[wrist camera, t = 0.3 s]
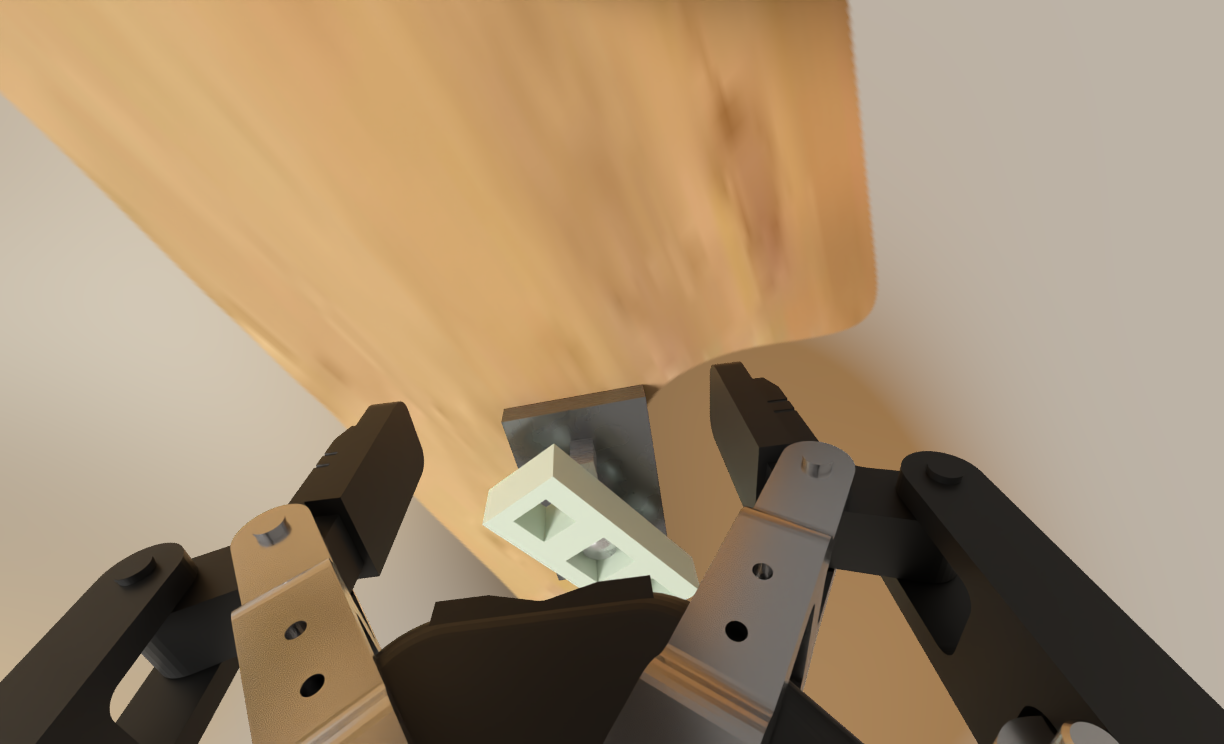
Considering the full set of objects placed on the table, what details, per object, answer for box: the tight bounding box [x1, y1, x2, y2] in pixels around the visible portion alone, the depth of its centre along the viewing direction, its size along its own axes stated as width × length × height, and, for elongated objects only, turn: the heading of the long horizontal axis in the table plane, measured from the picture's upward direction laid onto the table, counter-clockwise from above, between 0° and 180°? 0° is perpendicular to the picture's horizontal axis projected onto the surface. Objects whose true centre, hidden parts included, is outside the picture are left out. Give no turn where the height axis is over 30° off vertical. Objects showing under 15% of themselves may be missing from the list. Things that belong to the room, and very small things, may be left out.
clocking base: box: [502, 385, 667, 580], centre depth 36 cm, size 18×10×6 cm, turn 9°
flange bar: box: [482, 444, 699, 600], centre depth 34 cm, size 16×6×3 cm, turn 39°
